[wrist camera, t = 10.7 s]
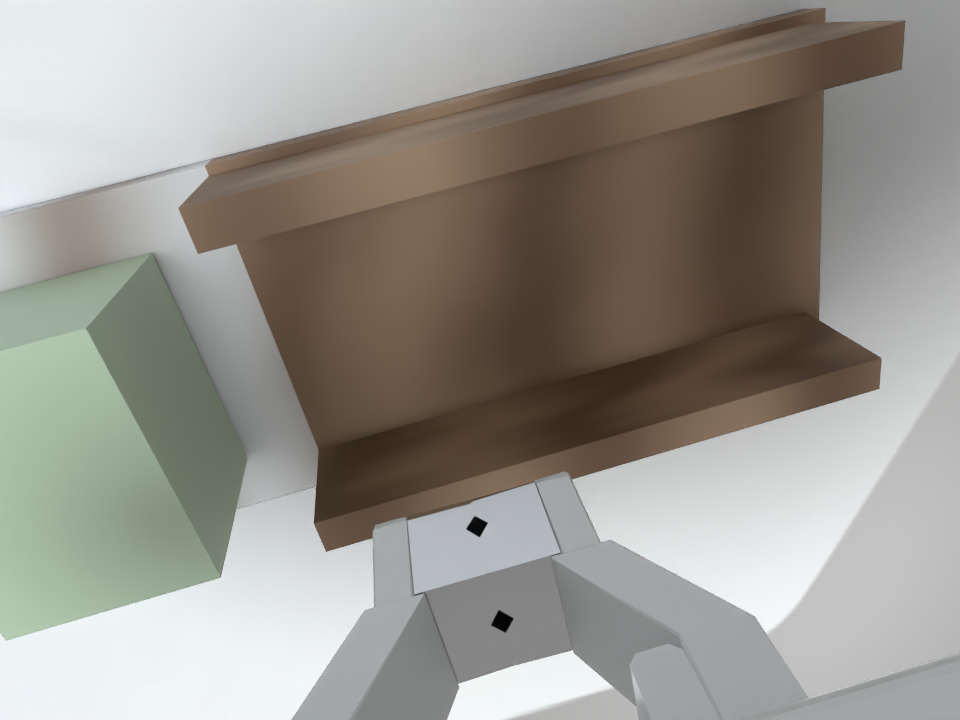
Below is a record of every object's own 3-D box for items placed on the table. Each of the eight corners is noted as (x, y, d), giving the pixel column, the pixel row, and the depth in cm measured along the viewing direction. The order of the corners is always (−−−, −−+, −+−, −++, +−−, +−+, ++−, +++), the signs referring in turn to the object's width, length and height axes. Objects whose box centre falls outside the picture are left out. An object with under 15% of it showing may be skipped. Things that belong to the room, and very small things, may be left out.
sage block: (152, 252, 17) (86, 328, 13) (247, 458, 20) (220, 577, 16) (-47, 304, 17) (-184, 400, 12) (81, 505, 20) (5, 640, 16)
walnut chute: (802, 9, 19) (927, 2, 15) (800, 329, 23) (894, 391, 19) (-121, 243, 17) (-264, 307, 13) (72, 538, 22) (11, 652, 18)
